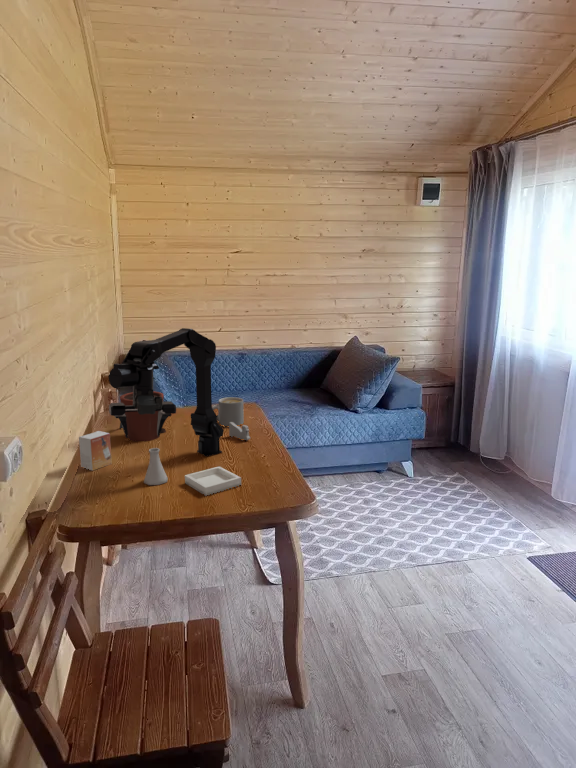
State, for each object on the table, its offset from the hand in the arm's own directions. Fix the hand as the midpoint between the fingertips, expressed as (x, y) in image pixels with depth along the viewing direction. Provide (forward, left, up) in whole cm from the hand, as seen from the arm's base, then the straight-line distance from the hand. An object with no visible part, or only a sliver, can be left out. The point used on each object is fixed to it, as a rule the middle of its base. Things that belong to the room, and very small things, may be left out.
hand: (142, 436), depth 167 cm
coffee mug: (-52, -34, -14) cm, 64 cm away
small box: (+7, -20, -14) cm, 26 cm away
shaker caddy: (-14, +17, -13) cm, 25 cm away
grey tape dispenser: (-45, -15, -14) cm, 49 cm away
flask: (-2, +4, -14) cm, 14 cm away
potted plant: (-19, -43, -14) cm, 49 cm away
